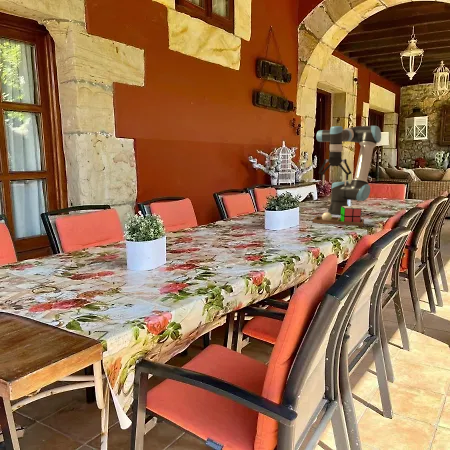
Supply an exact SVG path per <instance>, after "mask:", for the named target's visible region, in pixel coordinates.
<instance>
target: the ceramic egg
mask: <svg viewBox="0 0 450 450" xmlns="http://www.w3.org/2000/svg"><path fill="white" fill-rule="evenodd" d="M321 216H322V219H323V220H331V219H332V217H333V216H332V214H330V213H328V211H327V212H326V211H325V212H324V213H322V215H321Z"/></svg>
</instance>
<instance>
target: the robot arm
mask: <svg viewBox="0 0 450 450" xmlns="http://www.w3.org/2000/svg"><path fill="white" fill-rule="evenodd" d="M315 136H316V140H317V142H320V143H329V153H328V155H329V156H328V157H329V158H328V159H326V158H324V159H323V163H322V165H321V167H320V168H319V170H318V172H317V173H318V174H319V175H321V176H320V180H322V186H325V177H326V176H325V173H326V172H327V171H328V169H330V167H340V169H341V170H342V171H343V173H345V175H344V181H335V182H332V184H331V187H330V189H331V192H330V203H329V206H328V209H327V212H328V213H330V214H331V215H339V216H341V206H349V204H348V201H356V202H365V201H366V200H367V199H368V198H369V197H370V194H371V186H370V184H369V182H368V176H369V171H370V168H371V167H370V166H371V161H372V157H373V151H374V149H375V147H377V144H378V143H381V140H382V131H381V128H380V127H379V126H377V125H357V126H352V127H346V128H344V129H343V126H342V125H336V126H330V129H322V130H321V129H320V130H318V131H317V132H316V135H315ZM345 142H346V143H348V142H351V143H358V144H359V145H360V149H359V153H358V154H359V155H358V159H357V165H356V168H355V174H354V177H353V179H351V181H350V182H349V181H348V180H349V175H351V174H352V171H351V168H350V166H349V165H348V160H347V159H346V158H344V159H343V157H342V154H343V153H342V151H343V143H345ZM342 162H343V163H344V165H345V168H344V166H343V165H342ZM327 163H329V164H328V165H327V166H326V164H327ZM325 166H326V167H325ZM324 167H325V168H324Z"/></svg>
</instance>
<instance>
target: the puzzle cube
mask: <svg viewBox="0 0 450 450" xmlns="http://www.w3.org/2000/svg"><path fill="white" fill-rule="evenodd" d="M340 218H341V219H340V221H345V222H360V223H361V219H362V208H361V207H359V206H357V205H353V206H351V205H350V206H349V205H348V206H341V215H340Z"/></svg>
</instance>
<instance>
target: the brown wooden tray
mask: <svg viewBox="0 0 450 450" xmlns="http://www.w3.org/2000/svg"><path fill="white" fill-rule="evenodd" d="M340 219H341V217H335V216H332V219H331V220H323V219H322V215H321V216H319V215H316V216H315V217H313V219H312V224H323V225H324V224H325V225H339V226H352V227H353V226H355V227H358V228H360V229H362V228H363V227H364V225H363V224H365V219H364V218H361V223H360V222H345V221H340Z"/></svg>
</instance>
